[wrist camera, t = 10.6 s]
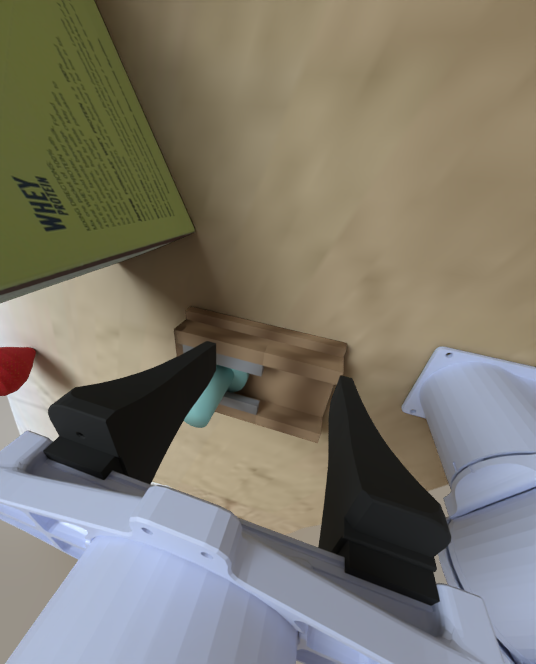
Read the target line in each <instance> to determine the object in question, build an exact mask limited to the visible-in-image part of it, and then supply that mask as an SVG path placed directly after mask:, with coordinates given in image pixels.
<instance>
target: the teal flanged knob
mask: <svg viewBox="0 0 536 664" xmlns="http://www.w3.org/2000/svg"><path fill="white" fill-rule="evenodd" d="M248 377H249V373H246V372H242V371H239V370H235V369H231V368H227V367H224V366H220V365H216V372H215V374H214V376H213V377H212V379H211V381H210V383H209V385H208V386H207V388H206V389H205V390H204V392H203V393H202V395H201V396H200V398H199V399H198V400H197V402H196V403H195V405H194V406H193V407H192V409H191V410H190V412H189V413H188V414H187V416H186V418H185V419H184V421H185V422H186V423H187V424H189V425H191V426H194V427H198V428H202V427H205V426H206V425H207V424H208V422H209V420H210V419H211V417H212V415H213V413H214V412H215V410H216V408H217V406H218V405H219V403H220V401H221V399H222V398H223V396H224V394H225V392H226V391H227V392H231V393H232V392H237V391H239V390H241V389H242V388H243V387H244V385H245V384H246V382H247V380H248Z"/></svg>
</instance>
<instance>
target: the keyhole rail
mask: <svg viewBox="0 0 536 664" xmlns="http://www.w3.org/2000/svg"><path fill="white" fill-rule="evenodd" d="M174 335H175V344H176V353H177V357H178V356H180V355H181V354H183V353H185V352H187V351H189V350H191V349H193V348H194V347H196V346H198V345H200V344H202V343H204V342H206V341H209V342H213V343H216V365H220V366H224V367H227V368H231V369H235V370H239V371H242V372H246V373H249V377H248V380H247V382H246V384H245V385H244V387H243V388H242V389H241V390H239V391H237V392H232V393H231V392H227V391H226V392H225V394H224V396H223V398H222V399H221V401H220V403H219V405H218V406H217V408H216V410H215V412H217V413H221V414H224V415H227V416H230V417H234V418H237V419H240V420H243V421H247V422H250V423H253V424H257V425H260V426H263V427H266V428H270V429H273V430H276V431H279V432H283V433H286V434H289V435H293V436H296V437H299V438H302V439H306V440H309V441H312V442H315V443H318V440H319V438H320V435H321V426H322V417H323V414H324V412H325V409H326V406H327V403H328V400H329V397H330V395H331V392H332V389H333V386H334V384H335V385H337V383H338V380H339V377H340V375H343V358H344V355H345V352H346V349H347V344H346V343H344V342H340V341H335V340H331V339H327V338H323V337H318V336H314V335H310V334H306V333H301V332H297V331H293V330H289V329H284V328H280V327H276V326H272V325H267V324H263V323H259V322H255V321H250V320H246V319H242V318H238V317H234V316H229V315H225V314H221V313H217V312H212V311H208V310H204V309H200V308H195V307H189V308H188V309H187V310H186V320H185V321H183V322H182V323H181V324H180V325H179V326H177V327H176V328H175V329H174Z"/></svg>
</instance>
